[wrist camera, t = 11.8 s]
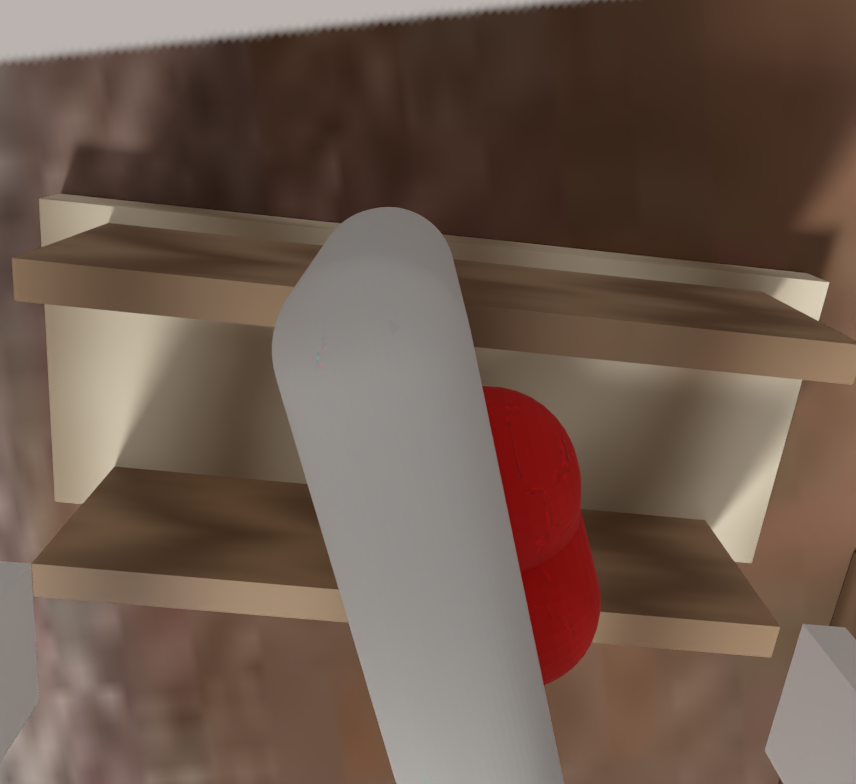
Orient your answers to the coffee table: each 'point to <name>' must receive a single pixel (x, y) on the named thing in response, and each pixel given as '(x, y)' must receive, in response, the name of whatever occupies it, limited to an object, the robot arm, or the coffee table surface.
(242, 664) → the coffee table surface
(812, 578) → the coffee table surface
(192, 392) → the ledge
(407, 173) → the coffee table surface
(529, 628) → the icon
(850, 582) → the wooden tray
